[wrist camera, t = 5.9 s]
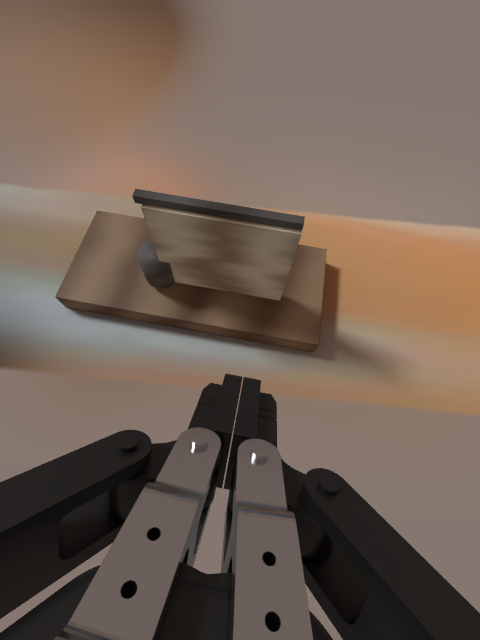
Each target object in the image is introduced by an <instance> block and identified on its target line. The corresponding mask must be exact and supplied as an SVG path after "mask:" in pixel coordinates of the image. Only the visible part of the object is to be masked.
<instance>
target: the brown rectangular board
mask: <svg viewBox="0 0 480 640" xmlns="http://www.w3.org/2000/svg"><path fill="white" fill-rule="evenodd" d="M149 241H152V238H151V235H150V232H149V230H148V227H147V224H146V221H145V219H143V218H138V217H132V216H126V215H120V214H114V213H108V212H102V211H97V212H96V214H95V216H94V218H93V221H92V223H91V225H90V227H89V229H88V231H87V233H86V235H85V237H84V239H83V241H82V243H81V245H80V247H79V249H78V251H77V253H76V255H75V257H74V260H73V262H72V264H71V266H70V268H69V270H68V272H67V274H66V276H65V278H64V280H63V282H62V284H61V286H60V288H59V290H58V292H57V294H56V298H57V299H58V300H59V301H60V302H61V303H62V304H63V305H64V306H65V307H69V308H74V309H80V310H85V311H91V312H96V313H102V314H107V315H113V316H118V317H124V318H129V319H135V320H140V321H146V322H151V323H157V324H162V325H168V326H173V327H179V328H184V329H190V330H195V331H201V332H206V333H212V334H217V335H223V336H228V337H234V338H239V339H245V340H250V341H256V342H261V343H266V344H272V345H277V346H283V347H288V348H294V349H299V350H305V351H310V352H314V350H315V349H316V348H317V347H318V345H319V339H320V326H321V314H322V301H323V288H324V276H325V263H326V250H327V249H322V248H316V247H310V246H304V245H298V246H297V249H296V252H295V255H294V258H293V261H292V264H291V267H290V271H289V274H288V277H287V280H286V283H285V286H284V289H283V292H282V295H281V298H280V301H279V300H273V299H268V298H262V297H256V296H251V295H245V294H239V293H234V292H228V291H222V290H217V289H211V288H205V287H200V286H194V285H188V284H183V283H177V282H175V283H174V284H173V285H171V286H169V287H166V288H156V287H153V286H151V285H150V284H149V283H148V282H147V280H146V278H145V275H144V273H143V271H142V268H141V266H140V264H139V262H138V259H137V253H138V250H139V249H140V247H141V246H142V245H143V244H145V243H146V242H149Z"/></svg>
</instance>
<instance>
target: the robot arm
mask: <svg viewBox="0 0 480 640" xmlns="http://www.w3.org/2000/svg"><path fill="white" fill-rule="evenodd" d="M241 382H242V377H241V376H236V375H230V374H225V377H224V381H223V384H222V385H219V384H214V383H210V384H209V385H208V386H206V387H205V388H204V389H203V391H202V394H201V396H200V399H199V401H198V405H197V407H196V409H195V412H194V415H193V417H192V420H191V422H190V425H189V427H188V429H187V430H185V431H184V432H183V433H181V435H180V436H179V438H178V439H177V440H175V441H172V442H168V443H158V444H151V440H150V438H149V437H148V436H147V435H146V434H145V433H143V432H140V431H137V430H124V431H120V432H118V433H115V434H113V435H110V436H108V437H106V438H103V439H101V440H99V441H96V442H94V443H92V444H89V445H87V446H85V447H82V448H80V449H78V450H75V451H73V452H70V453H68V454H66V455H63V456H61V457H59V458H56V459H54V460H52V461H49V462H47V463H45V464H42V465H40V466H38V467H35V468H33V469H31V470H29V471H26V472H24V473H21V474H19V475H17V476H14V477H12V478H10V479H7V480H5V481H3V482H0V619H1V618H2V617H4V616H5V615H7V614H8V613H10V612H11V611H13V610H14V609H16V608H17V607H19V606H20V605H21V604H23V603H24V602H26V601H27V600H29V599H30V598H32V597H33V596H35V595H36V594H38V593H39V592H40V591H42V590H44V589H45V588H46V587H48V586H49V585H51V584H52V583H54V582H55V581H57V580H58V579H60V578H61V577H63V576H64V575H66V574H67V573H69V572H70V571H72V570H73V569H75V568H76V567H77V566H79V565H80V564H82V563H83V562H85V561H86V560H88V559H89V558H91V557H92V556H94V555H95V554H97V553H98V552H99V551H101V550H102V549H104V548H105V547H107V546H108V545H110V544H111V543H113V544H112V546H111V547H110V550H109V551H108V553H107V555H106V556H105V558H104V560H103V562H102V564H101V565H99V566H97V567H94V568H92V569H90V570H88V571H86V572H84V573H83V574H81V575H79V576H77V577H76V578H74V579H73V580H72V581H70V582H69V583H67V584H66V585H65V586H63V587H62V588H61V589H59V590H58V591H57V592H55V593H54V594H53V595H51V596H50V597H49V598H47V599H46V600H45V601H43V602H42V603H40V604H39V605H38V606H36V607H35V608H34V609H33V610H31V611H29V612H28V613H27V614H25V615H24V616H23V617H21V618H20V619H19V620H17V621H16V622H15V623H13V624H12V625H11V626H9V627H8V628H6V629H5V630H4V631H3V632H1V633H0V640H333V639H332V638H331V636H330V635H329V633H328V632H327V631H326V629H325V628H324V627H323V625H322V624H321V623H320V622H319V620H318V619H317V618H316V617H315V616H314V615H313V614H312V613H311V612H310V611H309V608H308V601H307V594H306V587H305V584H306V585H307V587H308V588H309V589H310V591H311V593H312V594H313V596H314V597H315V598H316V600H317V601H318V603H319V604H320V606H321V607H322V609H323V610H324V612H325V613H326V615H327V616H328V618H329V619H330V621H331V622H332V624H333V625H334V627H335V628H336V630H337V631H338V632H339V634H340V636H341V637H342V638H343V640H480V613H479V612H478V611H477V610H476V609H475V608H474V607H473V606H472V605H471V604H470V603H469V602H468V601H467V600H466V599H465V598H464V597H463V596H462V595H461V594H460V593H458V592H457V591H456V590H455V589H454V588H453V587H452V586H451V585H450V584H449V583H448V582H447V581H446V580H445V579H444V578H443V577H442V576H441V575H440V574H439V573H438V572H437V571H436V570H435V569H434V568H433V567H432V566H431V565H430V564H429V563H428V562H427V561H426V560H425V559H424V558H423V557H422V556H421V555H420V554H419V553H418V552H417V551H416V550H415V549H414V548H413V547H412V546H411V545H410V544H409V543H408V542H407V541H406V540H405V539H404V538H403V537H402V536H401V535H400V534H399V533H397V531H395V529H394V528H393V527H391V526H390V525H389V524H388V523H387V522H386V521H385V520H384V519H383V518H382V517H381V516H380V515H379V514H378V513H377V512H376V511H375V510H374V509H373V508H372V507H371V506H370V505H369V504H368V503H367V502H366V501H365V500H364V499H363V498H362V497H361V496H360V495H359V494H358V493H357V492H356V491H355V490H354V489H353V488H352V487H351V486H350V485H349V484H348V483H347V482H346V481H345V480H344V479H342V477H340V476H339V475H338V474H336V473H334V472H332V471H330V470H327V469H322V468H316V469H312V470H310V471H309V472H308V473H307V474H303V473H301V472H299V471H297V470H295V469H293V468H291V467H290V466H289V465H287V464H286V463H285V462H284V461H283V460H282V459H281V456H280V453H279V451H278V450H277V421H276V418H277V413H276V412H277V410H276V409H277V407H276V401H275V400H274V398H273V396H272V395H271V394H266V393H261V392H260V385H261V380H257V379H252V378H246V377H244V379H243V385H242V390H241V396H240V401H239V406H238V412H237V417H236V423H235V428H234V434H233V440H232V445H231V451H230V457H229V462H228V468H227V474H226V479H225V485H224V489H229V490H230V491H229V498H228V503H227V508H226V515H225V528H224V542H223V555H222V568H221V573H219V574H205V573H202V572H200V571H198V570H197V569H195V568H193V564H194V561H195V558H196V554H197V551H198V547H199V544H200V541H201V538H202V534H203V531H204V527H205V524H206V520H207V517H208V514H209V511H210V506H211V503H212V501H213V499H214V495H215V490H216V487H219V488H222V485H223V480H224V474H225V469H226V463H227V457H228V452H229V447H230V441H231V436H232V431H233V425H234V420H235V414H236V409H237V403H238V398H239V393H240V387H241Z"/></svg>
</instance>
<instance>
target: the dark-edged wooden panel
mask: <svg viewBox="0 0 480 640" xmlns="http://www.w3.org/2000/svg"><path fill="white" fill-rule="evenodd" d="M133 199H134V201H135V203H139V204H142V206H141V209H142V212H143V215H144V218H145V221H146V224H147V227H148V230H149V232H150V235H151V238H152V241H149V242H146V243H145V244H143V245H142V246H141V247H140V249H139V250H138V253H137V259H138V262H139V264H140V266H141V268H142V271H143V273H144V275H145V278H146V280H147V282H148V283H149V284H150V285H151V286H153V287H156V288H166V287H169V286H171V285H173V284H174V283H175V282H177V283H183V284H188V285H194V286H200V287H205V288H211V289H217V290H222V291H228V292H234V293H239V294H245V295H251V296H256V297H262V298H268V299H273V300H279V301H280V298H281V295H282V292H283V289H284V286H285V283H286V280H287V277H288V274H289V271H290V267H291V264H292V261H293V258H294V255H295V252H296V249H297V246H298V243H299V240H300V237H301V232H302V228H303V225H304V218H305V217H303V216H297V215H291V214H285V213H278V212H272V211H266V210H260V209H254V208H248V207H242V206H236V205H229V204H224V203H218V202H211V201H206V200H199V199H193V198H187V197H181V196H175V195H169V194H163V193H157V192H151V191H145V190H139V189H135V191H134V193H133Z"/></svg>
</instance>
